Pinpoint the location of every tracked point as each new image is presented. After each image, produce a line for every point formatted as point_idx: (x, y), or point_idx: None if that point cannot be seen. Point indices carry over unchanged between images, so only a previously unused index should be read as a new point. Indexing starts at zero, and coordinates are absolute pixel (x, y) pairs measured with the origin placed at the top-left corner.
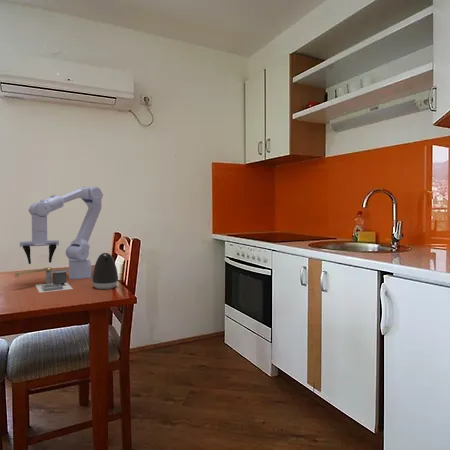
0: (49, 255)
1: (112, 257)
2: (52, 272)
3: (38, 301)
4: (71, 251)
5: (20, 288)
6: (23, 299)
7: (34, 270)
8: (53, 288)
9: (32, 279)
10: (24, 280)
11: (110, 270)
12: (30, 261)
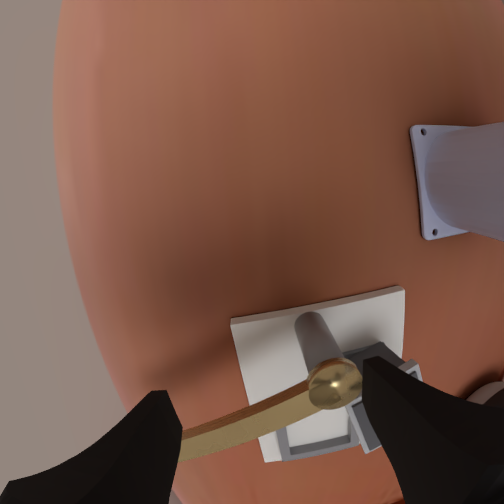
0: (396, 429)
1: None
2: (348, 414)
3: (265, 497)
4: None
5: (155, 321)
6: (216, 478)
7: (229, 446)
8: (321, 452)
9: (192, 60)
10: (145, 81)
11: None
12: (177, 449)
